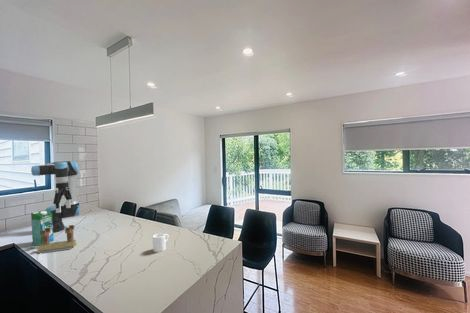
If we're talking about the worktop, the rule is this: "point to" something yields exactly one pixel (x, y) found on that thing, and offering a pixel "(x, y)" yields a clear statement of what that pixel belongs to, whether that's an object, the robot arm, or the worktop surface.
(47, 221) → the milk carton
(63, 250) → the mat
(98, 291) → the worktop surface
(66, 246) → the rail
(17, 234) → the worktop surface
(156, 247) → the mug
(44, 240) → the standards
